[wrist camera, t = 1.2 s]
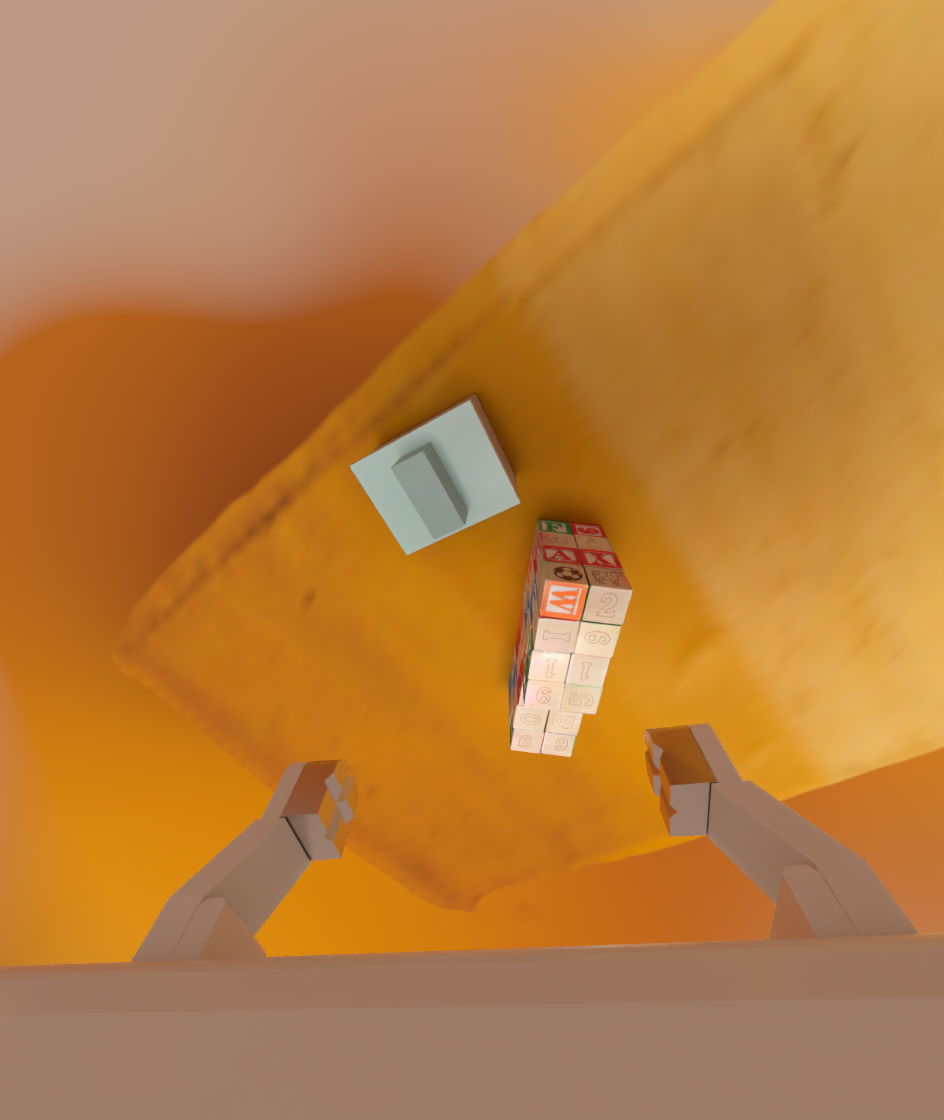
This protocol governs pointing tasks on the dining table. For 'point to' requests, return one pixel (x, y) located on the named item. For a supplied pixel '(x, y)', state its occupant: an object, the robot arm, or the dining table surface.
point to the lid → (437, 479)
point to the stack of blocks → (564, 635)
